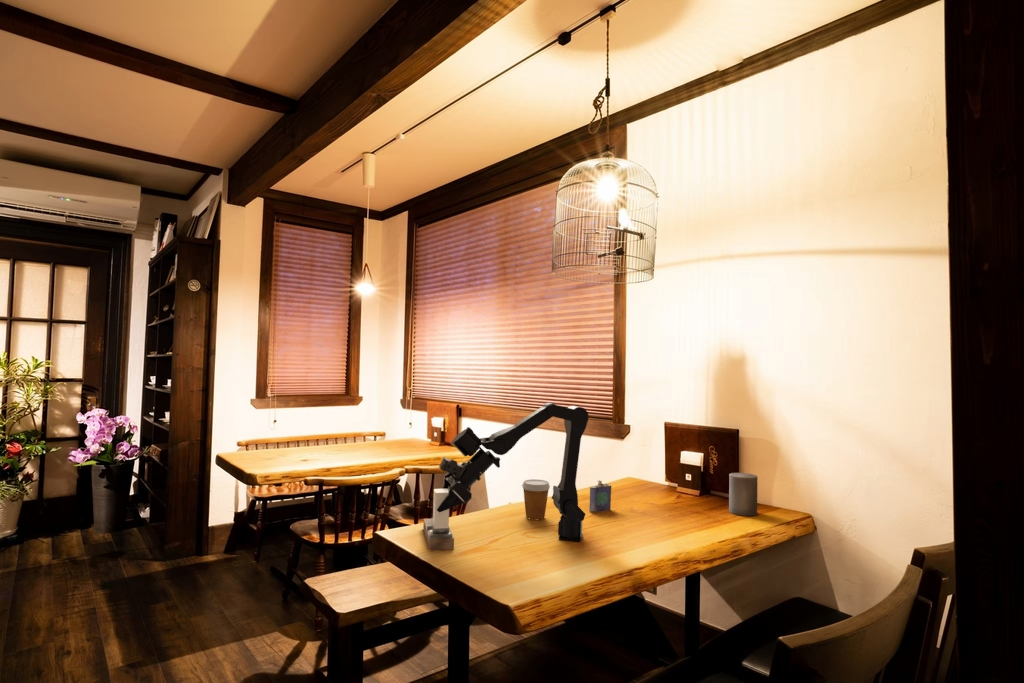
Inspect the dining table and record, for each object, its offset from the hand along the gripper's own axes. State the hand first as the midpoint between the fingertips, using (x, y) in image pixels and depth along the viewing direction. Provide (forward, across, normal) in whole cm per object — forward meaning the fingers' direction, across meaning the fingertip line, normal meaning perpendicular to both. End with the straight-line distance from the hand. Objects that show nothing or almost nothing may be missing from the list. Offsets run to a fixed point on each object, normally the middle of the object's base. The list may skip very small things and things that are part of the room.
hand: (436, 507), depth 164 cm
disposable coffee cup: (-18, -23, +33) cm, 44 cm away
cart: (+4, 0, +6) cm, 7 cm away
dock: (+7, -5, +8) cm, 12 cm away
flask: (-36, -29, +51) cm, 69 cm away
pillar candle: (-72, -19, +88) cm, 115 cm away
